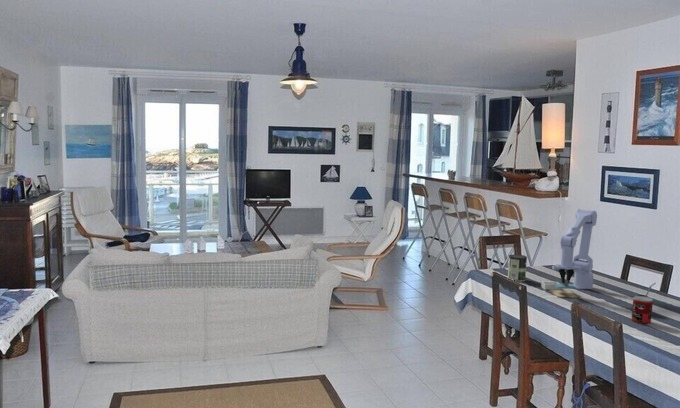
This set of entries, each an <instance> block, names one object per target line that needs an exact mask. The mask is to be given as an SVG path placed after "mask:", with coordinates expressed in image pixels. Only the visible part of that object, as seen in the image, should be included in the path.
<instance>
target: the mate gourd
mask: <svg viewBox="0 0 680 408" xmlns="http://www.w3.org/2000/svg"><path fill="white" fill-rule="evenodd" d="M656 283H657V282H654V283H652V284H651V285H650V286H649V288H648V290H647V292H646V294H636V295H635V296H643V297H648V298H650V297H649V296H648V294H649V292H650V290H652V287H653V286H654V285H656Z"/></svg>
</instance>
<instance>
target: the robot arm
mask: <svg viewBox="0 0 680 408" xmlns="http://www.w3.org/2000/svg"><path fill="white" fill-rule="evenodd" d="M597 219H598V214H597V211H596V210H590V209H580V208H578V209H577V210H576V211H575V221H574V223H573V226H570V227H569V229H568V230H567V232H566V234H565V235H563V236H562V237H561V239H560V250H561V259H560V260H561V261H560V264H559V265H557V264H556V265H552V267H551V268H552V270H554V271H555V270H556V271H557V270H558V273H559V275H560V279H561V284H562V283H563V284H564V283H565V279H566V280H568V281H569V282H568V284H570V281H571V278H572V276H573V275H574V278H573V283H571V284H572V285H574V286H575V287H576V289H575V290H581V289H582V290H593V289H594V288H593V285H594V274H593V272H592V270H593V266H594V264H593V258H592V257H591V256H590V255H589V251H590V247H591V246H590V244H591V238H592V231H593V227H595V226H596V225H597V224H596V223H597ZM580 233H581V236H580ZM579 236H580V237H581V238H580V243H579V244H580V245H579V251H578V254H577V255H575V256H574V250H575V247H576V246H577V241H578V237H579Z"/></svg>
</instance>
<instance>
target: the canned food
mask: <svg viewBox="0 0 680 408" xmlns="http://www.w3.org/2000/svg"><path fill="white" fill-rule="evenodd" d="M648 297H649V296H648ZM648 297H643V296H636V295H635V296H633V299H632V309H631V321H632V322H633V321H634V322H633V323H636V322H637V324H640V323H645V324H644V325H649V324H651V322H652V313H653V305H654V301H653V298H651V297H649V298H648ZM648 323H649V324H648Z"/></svg>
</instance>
